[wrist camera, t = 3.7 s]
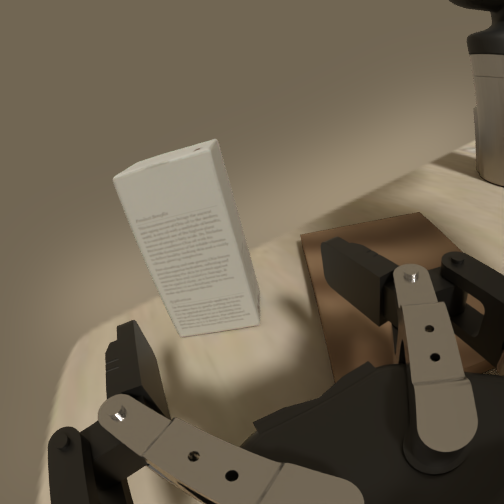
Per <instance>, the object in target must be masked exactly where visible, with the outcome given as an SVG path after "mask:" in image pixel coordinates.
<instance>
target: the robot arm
mask: <svg viewBox="0 0 504 504" xmlns="http://www.w3.org/2000/svg"><path fill="white" fill-rule="evenodd" d="M449 1H450V2H452V3H454V4H456V5H457V6H460V7H463V8H468V9H475V10H484V11H490V12H491V17H492V25H491V26H490V27H489V28H488V29H486V30H484V31H480V32H476V33H474V34H471V35H470V36H468V37H467V46H468V51H469V54H470V61H471V67H472V73H473V79H474V86H475V94H476V104H477V107H475V108H474V123H475V137H476V138H475V139H476V170H477V171H479V172H480V176H481V177H482V178H484V179H485V180H487V181H489V182H492V183H495V184H498V185H502V186H504V0H449ZM321 256H322V263H323V270H324V276H325V279H326V281H327V283H328V285H329V286H330V287H331V288H332V289H333V290H335V291H336V292H337V293H338V294H339V295H341V296H342V297H343V298H344V299H346V300H347V301H348V302H349V303H350V304H352V305H353V306H354V307H355V308H357V309H358V310H359V311H360V312H361V313H363V314H364V315H365V316H366V317H368V318H369V319H370V320H371V321H372V322H374V323H375V324H376V325H377V326H378V327H380V326H381V325H383V324H385V323H386V322H388V321H389V322H391V337H392V348H393V363H394V364H387V365H382V366H378V367H374V366H373V365H372V364H371V363H370V362H369V361H367V362H366V363H364V364H362V365H361V366H359V367H357V368H356V369H354V370H352V371H351V372H349V373H347V374H346V375H344V376H343V377H341V378H340V379H339V380H338V381H337V382H336V383H335V384H334V385H333V386H332V387H331V388H330V389H328V390H327V391H326V392H325V393H324V394H323V395H322V396H321V397H319V398H317V399H314V400H311V401H307V402H304V403H300V404H297V405H293V406H289V407H285V408H282V409H280V410H278V411H276V412H274V413H272V414H270V415H268V416H266V417H263V418H261V419H259V420H257V421H255V422H253V424H254V426H255V428H256V430H257V431H256V432H255V433H253V434H252V435H251V436H250V437H249V438H248V439H247V440H245V442H244V443H243V444H242V445H241V446H240V447H237V446H235V445H233V444H231V443H228V442H226V441H224V440H222V439H219V438H217V437H215V436H213V435H211V434H209V433H207V432H205V431H203V430H201V429H199V428H197V427H195V426H193V425H191V424H189V423H187V422H185V421H183V420H181V419H178V418H173V419H172V420H171V417H170V413H169V410H168V406H167V402H166V398H165V394H164V390H163V386H162V381H161V377H160V373H159V368H158V364H157V360H156V357H155V355H154V353H153V350H152V349H151V347H150V345H149V343H148V342H147V340H146V338H145V336H144V335H143V333H142V331H141V329H140V327H139V326H138V324H137V322H136V321H135V320H132V321H129V322H127V323H124V324H122V325H119V326H117V340H116V341H114V342H111V343H110V344H109V346H108V349H107V351H106V353H105V360H106V393H107V400H106V401H105V402H104V403H103V404H102V405H101V407H100V409H99V412H98V421H97V422H95V423H94V424H92V425H91V426H89V427H88V428H86V429H85V430H83V431H81V432H79V431H77V430H76V429H75V428H73V427H63V428H61V429H59V430H57V431H56V432H55V433H54V434H53V435H52V437H51V438H50V440H49V443H48V470H49V486H50V497H51V504H134V503H133V500H132V496H131V493H130V489H129V485H128V481H127V477H129V476H130V475H132V474H133V473H135V472H136V471H138V470H139V469H141V468H142V467H144V466H146V467H148V468H149V469H151V470H152V471H153V472H155V473H156V474H158V475H159V476H161V477H162V478H164V479H165V480H167V481H168V482H170V483H171V484H173V485H174V486H176V487H178V488H179V489H181V490H182V491H184V492H185V493H187V494H188V495H190V496H191V497H193V498H195V499H196V500H198V501H199V502H201V503H203V504H504V275H502V274H500V273H499V272H497V271H495V270H494V269H492V268H490V267H489V266H487V265H485V264H483V263H482V262H480V261H478V260H476V259H475V258H473V257H471V256H469V255H467V254H465V253H463V252H457V251H453V252H448V253H446V254H444V255H443V256H442V259H441V266H440V267H437V268H433V269H430V270H426V269H425V268H424V267H422V266H420V265H417V264H404V265H401V266H399V265H397V264H395V263H394V262H392V261H390V260H389V259H387V258H385V257H383V256H382V255H380V254H379V255H378V253H376V252H375V251H371V249H369V248H367V247H366V246H364V245H361V244H357V243H352V242H351V243H349V242H347V241H346V240H344V239H342V238H340V237H338V236H337V237H334V238H332V239H329V240H327V241H325V242H323V243H321ZM468 293H469V294H470V295H472V296H473V297H474V298H476V299H477V300H479V301H480V302H481V303H482V304H483V306H484V310H485V312H484V315H483V314H481V313H480V312H479V311H477V310H476V309H474V308H473V307H472V306H470V305H469V304H467V303H466V301H467V296H468ZM454 334H455V335H456V336H458V337H459V338H460V339H461V340H463V341H464V342H465V343H466V344H467V345H469V346H470V347H471V348H472V349H473V350H475V351H476V352H477V353H478V354H479V355H481V356H482V357H483V358H484V359H485V360H487V361H488V362H489V363H490V364H491V365H492V366H494V367H495V368H496V369H497V371H498V374H499V375H490V374H480V373H470V372H464V371H463V366H462V362H461V358H460V354H459V350H458V346H457V342H456V339H455V335H454Z"/></svg>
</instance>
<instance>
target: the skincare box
mask: <svg viewBox="0 0 504 504" xmlns="http://www.w3.org/2000/svg"><path fill="white" fill-rule="evenodd" d="M113 183H114V186H115V188H116V191H117V194H118V196H119V199H120V202H121V204H122V207H123V209H124V212H125V214H126V217H127V219H128V222H129V225H130V227H131V229H132V232H133V234H134V237H135V239H136V242H137V244H138V247H139V249H140V251H141V254H142V256H143V258H144V261H145V263H146V265H147V268H148V270H149V272H150V274H151V277H152V279H153V281H154V284H155V286H156V288H157V290H158V292H159V295H160V297H161V299H162V301H163V303H164V305H165V308H166V310H167V312H168V314H169V316H170V318H171V320H172V322H173V324H174V326H175V328H176V330H177V332H178V334H179V336H180V337H186V336H193V335H200V334H207V333H214V332H221V331H227V330H233V329H240V328H246V327H252V326H258V325H260V290H259V286H258V282H257V279H256V275H255V271H254V268H253V264H252V260H251V257H250V253H249V250H248V246H247V243H246V239H245V235H244V232H243V229H242V225H241V221H240V218H239V214H238V211H237V207H236V203H235V200H234V196H233V192H232V189H231V185H230V182H229V178H228V175H227V171H226V168H225V164H224V161H223V157H222V153H221V150H220V146H219V143H218V140H217V139H213V140H210V141H206V142H203V143H199V144H196V145H193V146H189V147H186V148H183V149H179V150H175V151H171V152H168V153H165V154H161V155H158V156H156V157H152V158H149V159H146V160H143V161H140V162H138V163H136V164H134V165H132V166H131V167H129V168H127V169H126V170H124V171H123V172H121V173H120V174H118V175H116V176H115V177H114V178H113Z"/></svg>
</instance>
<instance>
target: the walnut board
mask: <svg viewBox="0 0 504 504" xmlns="http://www.w3.org/2000/svg"><path fill="white" fill-rule="evenodd" d="M300 236H301V241H302V247H303V251H304V254H305V258H306V262H307V266H308V270H309V274H310V278H311V282H312V286H313V290H314V294H315V298H316V302H317V306H318V310H319V314H320V318H321V323H322V327H323V331H324V336H325V340H326V344H327V349H328V353H329V358H330V362H331V367H332V372H333V376H334V381H335V383H336V382H337V381H338V380H339V379H340V378H341V377H343V376H344V375H346V374H347V373H349V372H351V371H352V370H354V369H356V368H357V367H359V366H361V365H362V364H364V363H366V362H367V361H369V362H370V363H371V364H372V365H373V366H374V367H378V366H382V365H387V364H394V363H393V348H392V337H391V322H389V321H388V322H386V323H385V324H383V325H381V326H380V327H378V326H377V325H376V324H375V323H374V322H372V321H371V320H370V319H369V318H368V317H366V316H365V315H364V314H363V313H361V312H360V311H359V310H358V309H357V308H355V307H354V306H353V305H352V304H350V303H349V302H348V301H347V300H346V299H344V298H343V297H342V296H341V295H339V294H338V293H337V292H336V291H335V290H333V289H332V288H331V287H330V286H329V285H328V283H327V281H326V279H325V276H324V270H323V263H322V256H321V243H323V242H325V241H327V240H329V239H332V238H334V237H337V236H338V237H340V238H342V239H344V240H346V241H347V242H349V243H351V242H352V243H357V244H361V245H364V246H366V247H367V248H369V249H371V251H375V252H376V253H378V255H379V254H380V255H382V256H383V257H385V258H387V259H389V260H390V261H392V262H394V263H395V264H397V265H399V266H401V265H404V264H417V265H420V266H422V267H424V268H425V269H426V270H430V269H433V268H437V267H440V266H441V259H442V256H443V255H444V254H446V253H448V252H453V251H457V252H462V251H461V250H460V249H459V248H458V247H457V246H456V245H455V244H453V243H452V242H451V241H450V240H449V239H448V238H447V237H446V236H445V235H444V234H443V233H442V232H441V231H440V230H439V229H438V228H437V227H435V226H434V225H433V224H432V223H431V222H430V221H429V220H428V219H427V218H426V217H424V216H423V215H422V214H421V213H420V212H417V213H412V214H406V215H401V216H396V217H390V218H385V219H380V220H375V221H369V222H364V223H359V224H354V225H349V226H343V227H338V228H333V229H328V230H323V231H318V232H312V233H307V234H302V235H300ZM466 303H467V304H469V305H470V306H472V307H473V308H474V309H476V310H477V311H479V312H480V313H481V314H483V315H484V312H485V310H484V306H483V304H482V303H481V302H480V301H479V300H477V299H476V298H474V297H473V296H472V295H470V294H469V293H468V296H467V301H466ZM454 335H455V334H454ZM455 339H456V342H457V346H458V350H459V354H460V358H461V362H462V366H463V371H464V372H470V373H480V374H481V373H484V372H486V371H488V370H491V369H493V368H495V367H494V366H492V365H491V364H490V363H489V362H488V361H487V360H485V359H484V358H483V357H482V356H481V355H479V354H478V353H477V352H476V351H475V350H473V349H472V348H471V347H470V346H469V345H467V344H466V343H465V342H464V341H463V340H461V339H460V338H459V337H458V336H456V335H455Z"/></svg>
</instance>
